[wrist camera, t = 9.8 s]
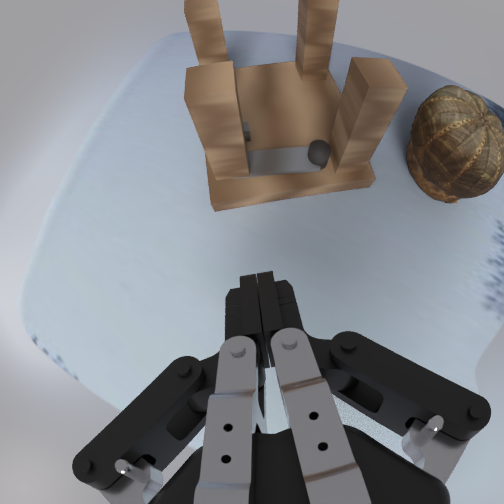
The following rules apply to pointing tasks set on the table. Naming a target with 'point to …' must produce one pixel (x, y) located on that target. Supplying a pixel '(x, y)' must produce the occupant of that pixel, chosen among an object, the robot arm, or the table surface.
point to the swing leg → (238, 130)
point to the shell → (455, 146)
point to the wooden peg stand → (302, 107)
